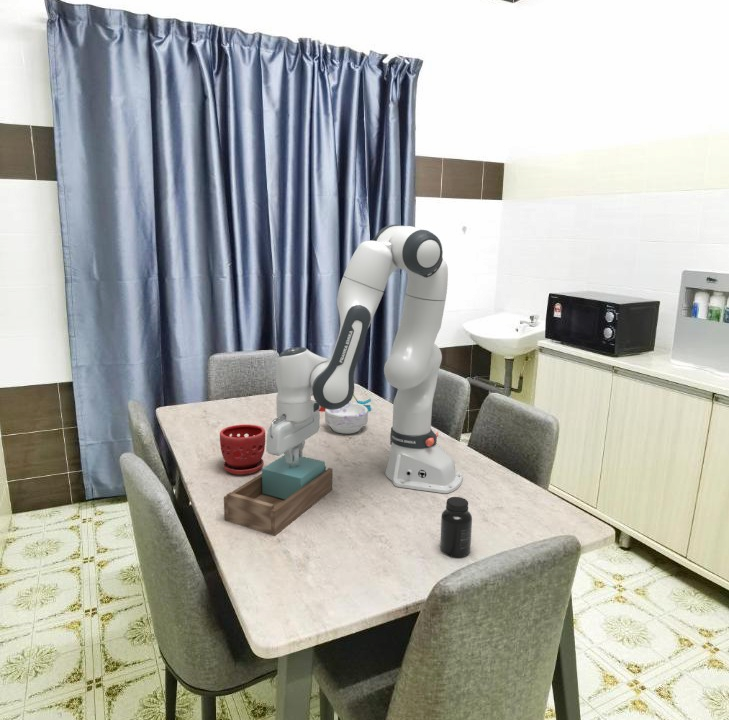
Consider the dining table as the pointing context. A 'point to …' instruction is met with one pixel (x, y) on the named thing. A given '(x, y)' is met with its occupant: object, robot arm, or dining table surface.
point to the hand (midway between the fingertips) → (294, 459)
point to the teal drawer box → (290, 474)
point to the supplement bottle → (456, 528)
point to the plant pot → (242, 448)
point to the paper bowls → (347, 418)
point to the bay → (273, 504)
